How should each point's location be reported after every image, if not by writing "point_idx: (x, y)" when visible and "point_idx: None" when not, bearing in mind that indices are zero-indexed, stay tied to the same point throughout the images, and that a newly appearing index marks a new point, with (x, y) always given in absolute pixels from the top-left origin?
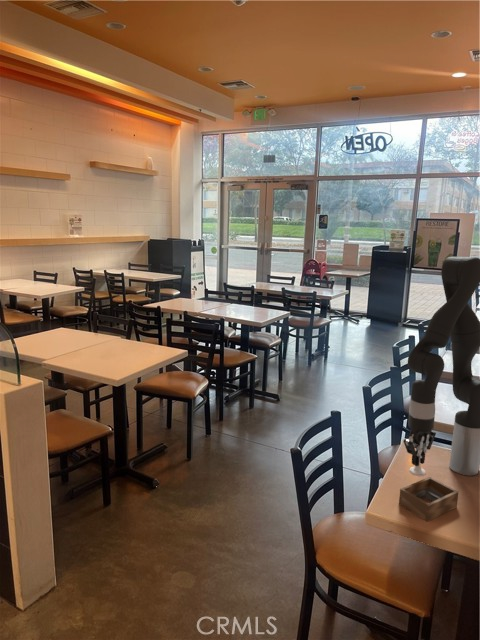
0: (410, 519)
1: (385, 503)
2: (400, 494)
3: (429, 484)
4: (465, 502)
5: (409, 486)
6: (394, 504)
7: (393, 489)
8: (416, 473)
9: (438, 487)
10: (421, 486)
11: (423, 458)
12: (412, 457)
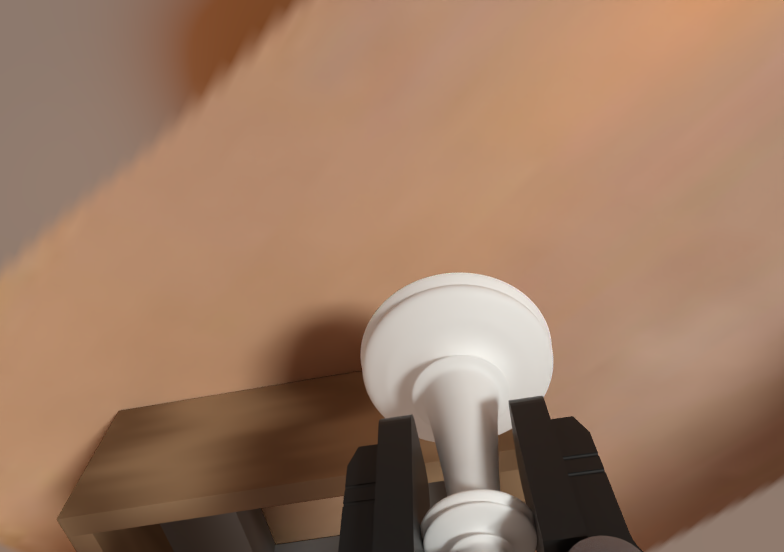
0: None
1: (7, 376)
2: (84, 482)
3: None
4: None
5: (175, 514)
6: (79, 405)
7: (193, 236)
8: (390, 417)
9: None
10: None
11: (536, 548)
12: (342, 541)
